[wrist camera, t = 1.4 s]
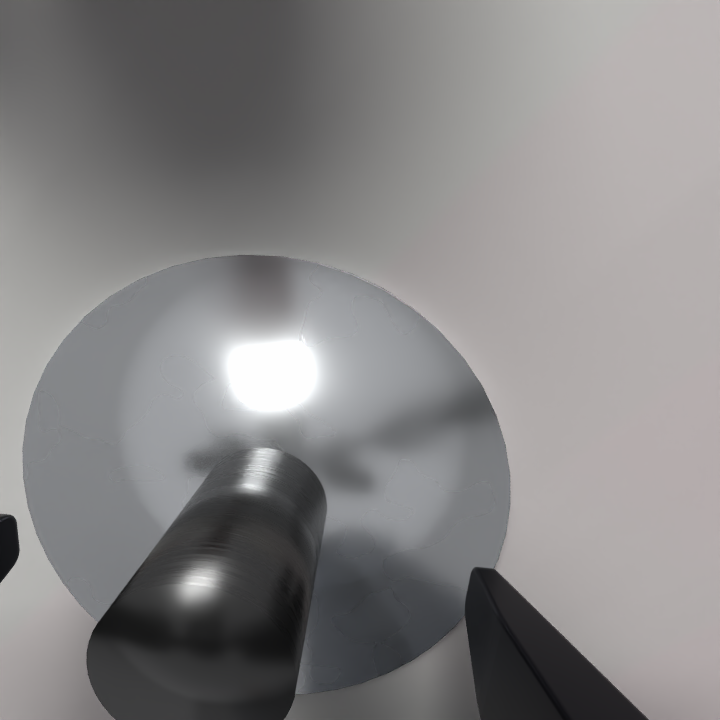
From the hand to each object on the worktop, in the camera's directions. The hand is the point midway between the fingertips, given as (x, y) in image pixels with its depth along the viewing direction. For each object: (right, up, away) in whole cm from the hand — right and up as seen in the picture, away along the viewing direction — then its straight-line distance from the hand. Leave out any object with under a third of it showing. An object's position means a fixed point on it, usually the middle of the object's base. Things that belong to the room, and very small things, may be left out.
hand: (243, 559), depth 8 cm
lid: (0, +1, +3) cm, 3 cm away
